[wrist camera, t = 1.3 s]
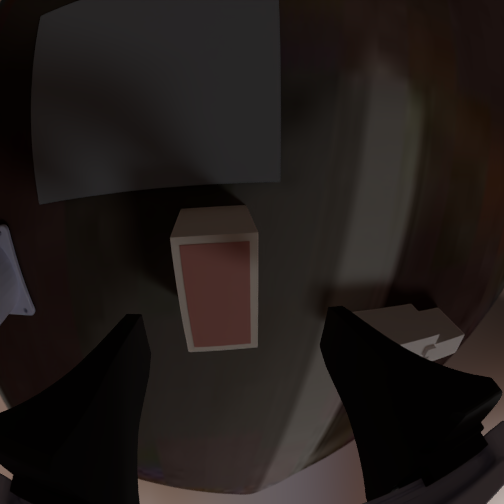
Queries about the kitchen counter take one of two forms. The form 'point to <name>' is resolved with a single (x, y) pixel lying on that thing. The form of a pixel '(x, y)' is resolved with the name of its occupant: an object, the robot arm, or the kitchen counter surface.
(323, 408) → the kitchen counter surface
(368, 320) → the napkin holder
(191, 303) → the card box
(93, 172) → the rubber mat
